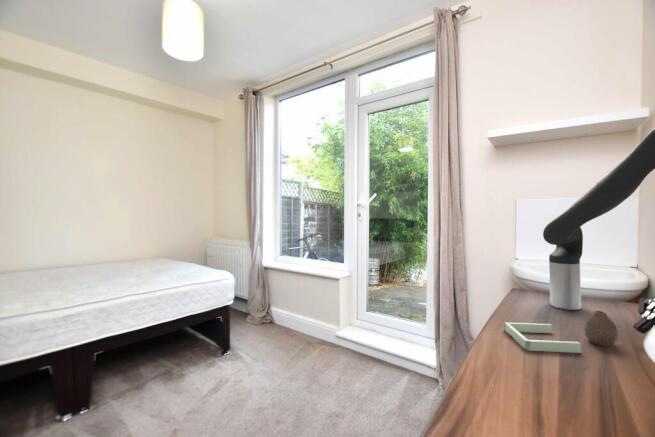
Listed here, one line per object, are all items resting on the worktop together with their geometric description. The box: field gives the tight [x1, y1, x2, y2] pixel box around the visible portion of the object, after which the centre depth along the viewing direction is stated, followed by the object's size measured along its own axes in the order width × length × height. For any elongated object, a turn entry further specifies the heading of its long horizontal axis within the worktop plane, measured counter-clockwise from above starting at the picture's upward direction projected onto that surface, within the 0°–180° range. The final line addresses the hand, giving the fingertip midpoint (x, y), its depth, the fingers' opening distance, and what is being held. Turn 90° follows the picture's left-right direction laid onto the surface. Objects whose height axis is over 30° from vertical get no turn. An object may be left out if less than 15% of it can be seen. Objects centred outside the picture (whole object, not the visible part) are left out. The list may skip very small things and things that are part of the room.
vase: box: [583, 310, 619, 347], centre depth 81 cm, size 7×7×9 cm
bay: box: [503, 321, 582, 354], centre depth 84 cm, size 14×13×2 cm
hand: (637, 330), depth 79 cm, fingers closed
